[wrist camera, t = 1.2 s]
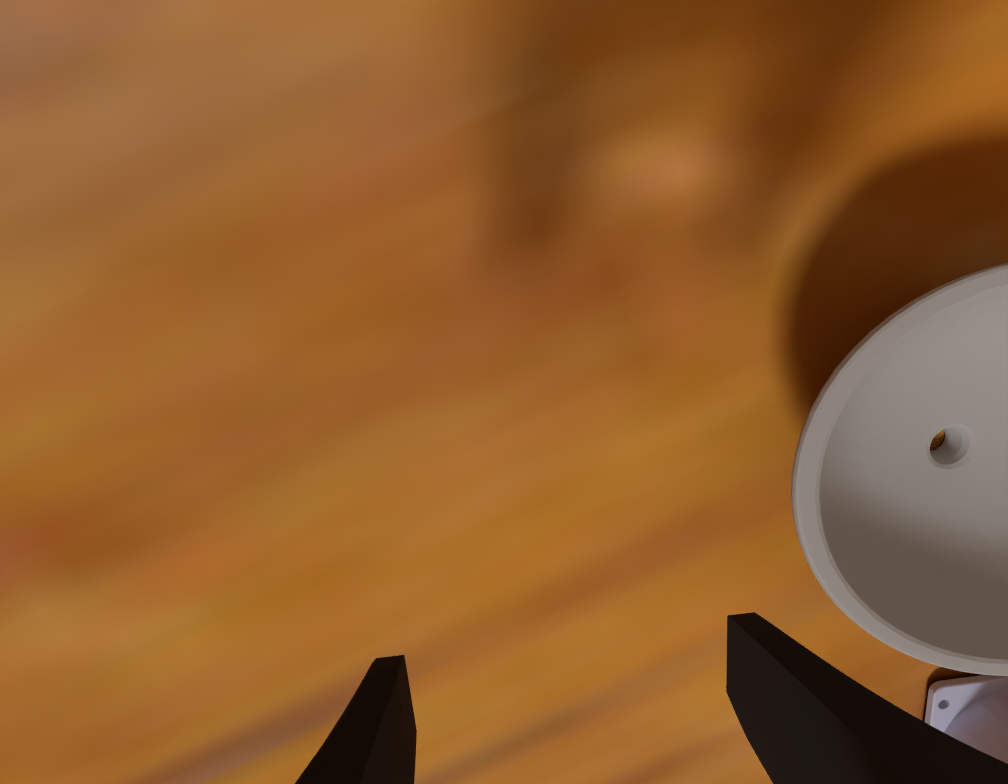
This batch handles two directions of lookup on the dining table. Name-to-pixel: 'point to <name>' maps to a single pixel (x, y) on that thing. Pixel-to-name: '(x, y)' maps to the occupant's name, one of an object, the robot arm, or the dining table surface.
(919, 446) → the dish
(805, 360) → the dining table surface
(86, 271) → the dining table surface
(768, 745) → the robot arm
